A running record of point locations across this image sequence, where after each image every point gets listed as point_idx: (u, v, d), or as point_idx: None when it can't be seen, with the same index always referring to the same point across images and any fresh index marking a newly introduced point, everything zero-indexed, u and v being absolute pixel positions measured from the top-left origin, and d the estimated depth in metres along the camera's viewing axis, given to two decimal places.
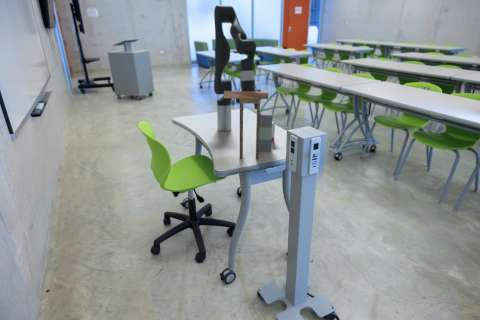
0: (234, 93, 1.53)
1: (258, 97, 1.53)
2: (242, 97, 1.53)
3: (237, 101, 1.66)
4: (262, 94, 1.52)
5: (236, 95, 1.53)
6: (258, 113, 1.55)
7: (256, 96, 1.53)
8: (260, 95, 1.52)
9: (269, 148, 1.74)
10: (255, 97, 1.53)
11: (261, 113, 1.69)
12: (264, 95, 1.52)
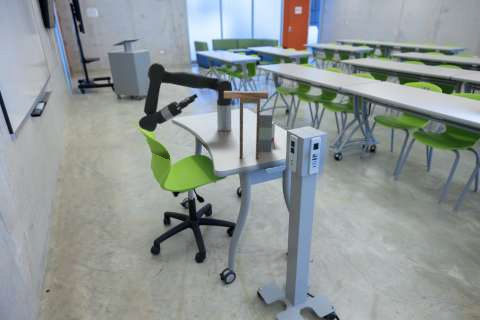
0: (234, 93, 1.53)
1: (258, 97, 1.53)
2: (242, 97, 1.53)
3: None
4: (262, 94, 1.52)
5: (236, 95, 1.53)
6: (258, 113, 1.55)
7: (256, 96, 1.53)
8: (260, 95, 1.52)
9: (269, 148, 1.74)
10: (255, 97, 1.53)
11: (261, 113, 1.69)
12: (264, 95, 1.52)
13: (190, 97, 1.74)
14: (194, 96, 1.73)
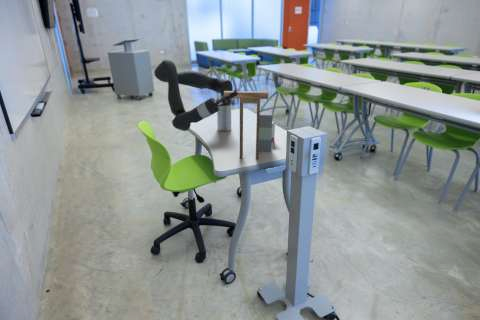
0: None
1: (258, 97, 1.53)
2: (242, 97, 1.53)
3: None
4: (262, 94, 1.52)
5: None
6: (258, 113, 1.55)
7: (256, 96, 1.53)
8: (260, 95, 1.52)
9: (269, 148, 1.74)
10: (255, 97, 1.53)
11: (261, 113, 1.69)
12: (264, 95, 1.52)
13: None
14: None
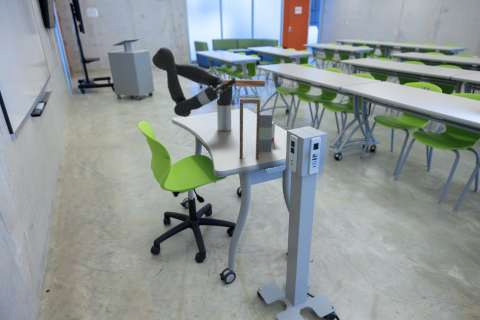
0: None
1: (255, 85, 1.61)
2: (240, 85, 1.62)
3: None
4: (259, 82, 1.60)
5: None
6: (258, 113, 1.55)
7: (254, 84, 1.61)
8: (257, 83, 1.61)
9: (269, 148, 1.74)
10: (252, 85, 1.61)
11: (261, 113, 1.69)
12: (260, 83, 1.61)
13: None
14: None
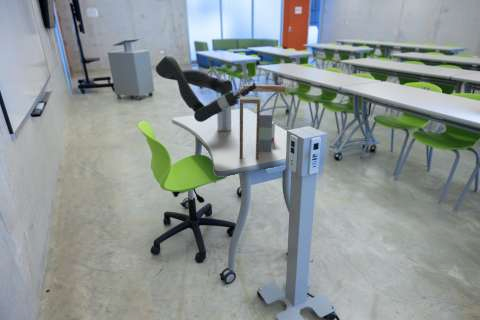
0: None
1: (275, 90, 1.62)
2: (260, 90, 1.62)
3: None
4: (279, 87, 1.61)
5: None
6: (258, 113, 1.55)
7: (274, 89, 1.62)
8: (278, 89, 1.61)
9: (269, 148, 1.74)
10: (272, 90, 1.62)
11: (261, 113, 1.69)
12: (281, 89, 1.61)
13: None
14: None
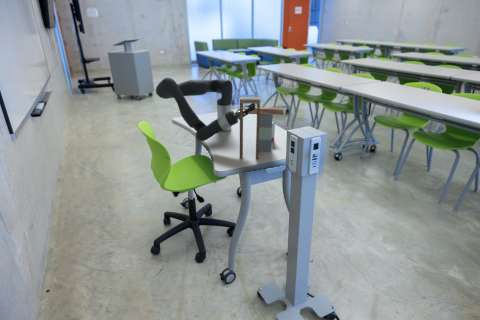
0: None
1: (274, 113, 1.67)
2: None
3: None
4: (278, 110, 1.66)
5: (254, 111, 1.67)
6: (258, 113, 1.55)
7: (273, 112, 1.67)
8: (276, 111, 1.66)
9: (269, 148, 1.74)
10: (271, 113, 1.67)
11: None
12: (279, 112, 1.66)
13: (248, 106, 1.71)
14: (252, 105, 1.70)
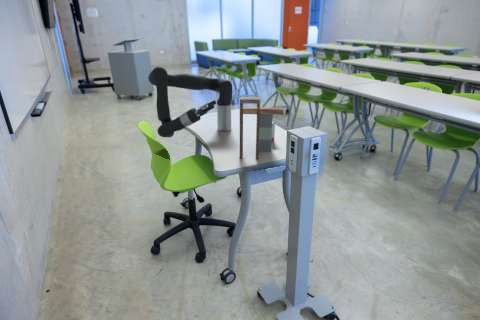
0: (252, 109, 1.67)
1: (274, 113, 1.67)
2: None
3: None
4: (278, 110, 1.66)
5: (254, 111, 1.67)
6: (258, 113, 1.55)
7: (273, 112, 1.67)
8: (276, 111, 1.66)
9: (269, 148, 1.74)
10: (271, 113, 1.67)
11: None
12: (279, 112, 1.66)
13: None
14: (213, 102, 1.72)
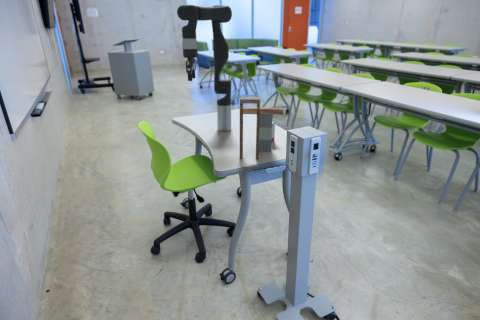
0: (252, 109, 1.67)
1: (274, 113, 1.67)
2: None
3: None
4: (278, 110, 1.66)
5: (254, 111, 1.67)
6: (258, 113, 1.55)
7: (273, 112, 1.67)
8: (276, 111, 1.66)
9: (269, 148, 1.74)
10: (271, 113, 1.67)
11: None
12: (279, 112, 1.66)
13: None
14: (193, 75, 1.70)
